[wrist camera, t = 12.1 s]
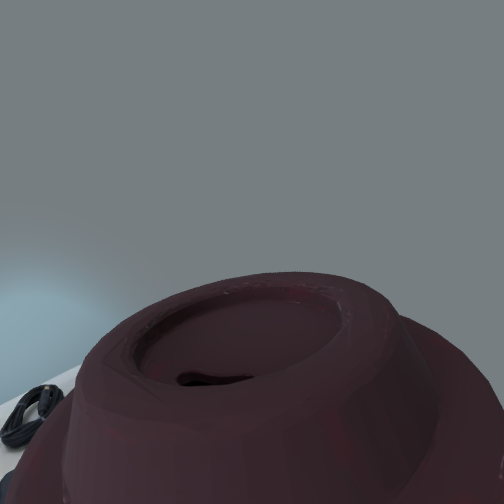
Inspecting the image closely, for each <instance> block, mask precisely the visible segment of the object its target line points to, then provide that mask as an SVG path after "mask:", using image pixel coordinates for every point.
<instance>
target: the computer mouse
mask: <svg viewBox="0 0 504 504" xmlns="http://www.w3.org/2000/svg"><path fill="white" fill-rule="evenodd" d="M50 397H52V398H51V399H50ZM64 398H65V397H64V396H63V392H62V390H61V389H59V388H58V387H57V386H56V385H51V384H50V385H40V386H38V387H35V388H33V389H31V390H30V391H29V392H28V393H26V394H25V395H24V396H23V397H22V398H21V399H20V401H19V402H18V404H17V405H16V407H15V409H14V411H13V412H12V413H11V415H10V416H9V418H8V419H7V421H6V423H5V424H4V426H3V428H2V429H1V431H0V437H1V438H2V439H1V440H2V443H3V444H5V445H7V446H9V447H10V448H19V447H22V446H24V445H26V444H28V443H29V442H30V441H31V439H32V438H33V436H34V435H35V433H36V432H37V430H38V429H39V428H40V426H41V425H42V424H43V422H44V421H45V420H46V419H47V417H48V416H49V415H50V413H51V412H52V411H53V410H54V408H55V407H56V406H57V405H58V404H59V403H60V402H61V401H62V400H63V399H64ZM37 401H39V404H38V414H39V415H40V417H39V418H38V419H37V420H35V421H31V422H28V423H26V424H23V425H22V419H23V414H24V412H25V410H26V409H27V408H28V407H29V406H31V405H32V404H34V403H35V402H37ZM14 470H15V469H14ZM14 470H12V471H10V472H8V473H7V474H6V475H5V476H4V477H3V479H2V480H1V481H0V504H4V502H5V498H6V494H7V490H8V487H9V484H10V481H11V479H12V476H13V473H14Z"/></svg>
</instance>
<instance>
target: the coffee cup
mask: <svg viewBox="0 0 504 504" xmlns="http://www.w3.org/2000/svg"><path fill="white" fill-rule="evenodd" d="M4 504H504V410H503V408H502V406H501V404H500V402H499V400H498V398H497V396H496V394H495V393H494V391H493V389H492V387H491V385H490V383H489V381H488V380H487V379H486V378H485V377H484V375H483V374H482V373H481V372H480V371H479V370H478V368H477V367H476V366H475V365H474V364H473V363H472V362H471V361H470V360H469V358H468V357H467V356H466V355H465V354H464V353H463V352H462V351H461V350H459V349H458V348H457V347H455V346H454V345H453V344H451V343H450V342H449V341H447V340H446V339H445V338H443V337H442V336H441V335H439V334H438V333H437V332H435V331H433V330H431V329H429V328H427V327H425V326H423V325H421V324H419V323H417V322H415V321H413V320H411V319H410V318H407V317H404V316H401V315H399V314H398V312H397V311H396V310H395V308H394V307H393V306H392V304H391V303H390V302H389V300H388V299H386V298H385V297H384V296H383V295H382V294H380V293H379V292H377V291H375V290H374V289H372V288H370V287H369V286H367V285H365V284H363V283H360V282H357V281H354V280H352V279H348V278H345V277H341V276H336V275H330V274H321V273H311V272H279V273H278V272H277V273H262V274H254V275H248V276H242V277H237V278H231V279H225V280H221V281H217V282H214V283H210V284H206V285H203V286H200V287H196V288H193V289H190V290H187V291H184V292H181V293H178V294H175V295H172V296H170V297H168V298H166V299H163V300H161V301H159V302H157V303H154V304H152V305H150V306H148V307H146V308H144V309H143V310H141V311H139V312H137V313H135V314H134V315H132V316H130V317H129V318H127V319H125V320H124V321H122V322H121V323H120V324H118V325H117V326H116V327H115V328H113V329H112V330H111V331H110V332H109V333H107V334H106V335H105V336H104V337H103V338H101V340H100V341H99V342H98V343H97V344H96V345H95V346H94V347H93V348H92V350H91V351H90V352H89V353H88V355H87V356H86V357H85V360H84V361H83V364H82V366H81V368H80V370H79V372H78V375H77V377H76V382H75V388H74V389H73V390H72V391H71V392H70V393H69V394H68V395H67V396H66V397H65V398H64V399H63V400H62V401H61V402H60V403H59V404H58V405H57V406H56V407H55V408H54V410H53V411H52V412H51V413H50V415H49V416H48V417H47V419H46V420H45V421H44V422H43V424H42V425H41V426H40V428H39V429H38V430H37V432H36V433H35V435H34V436H33V438H32V439H31V441H30V442H29V444H28V446H27V447H26V449H25V451H24V453H23V455H22V457H21V459H20V460H19V462H18V464H17V466H16V468H15V470H14V473H13V476H12V479H11V481H10V484H9V487H8V490H7V494H6V498H5V502H4Z"/></svg>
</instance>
